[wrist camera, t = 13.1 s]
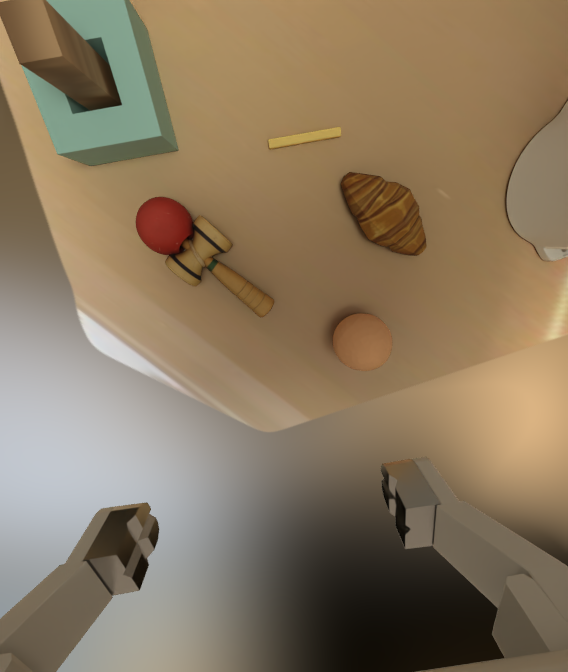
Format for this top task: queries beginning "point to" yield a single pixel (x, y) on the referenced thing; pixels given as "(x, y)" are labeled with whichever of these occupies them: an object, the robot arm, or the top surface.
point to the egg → (362, 342)
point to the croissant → (385, 212)
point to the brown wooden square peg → (58, 53)
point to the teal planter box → (132, 84)
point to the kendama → (193, 249)
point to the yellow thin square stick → (304, 138)
